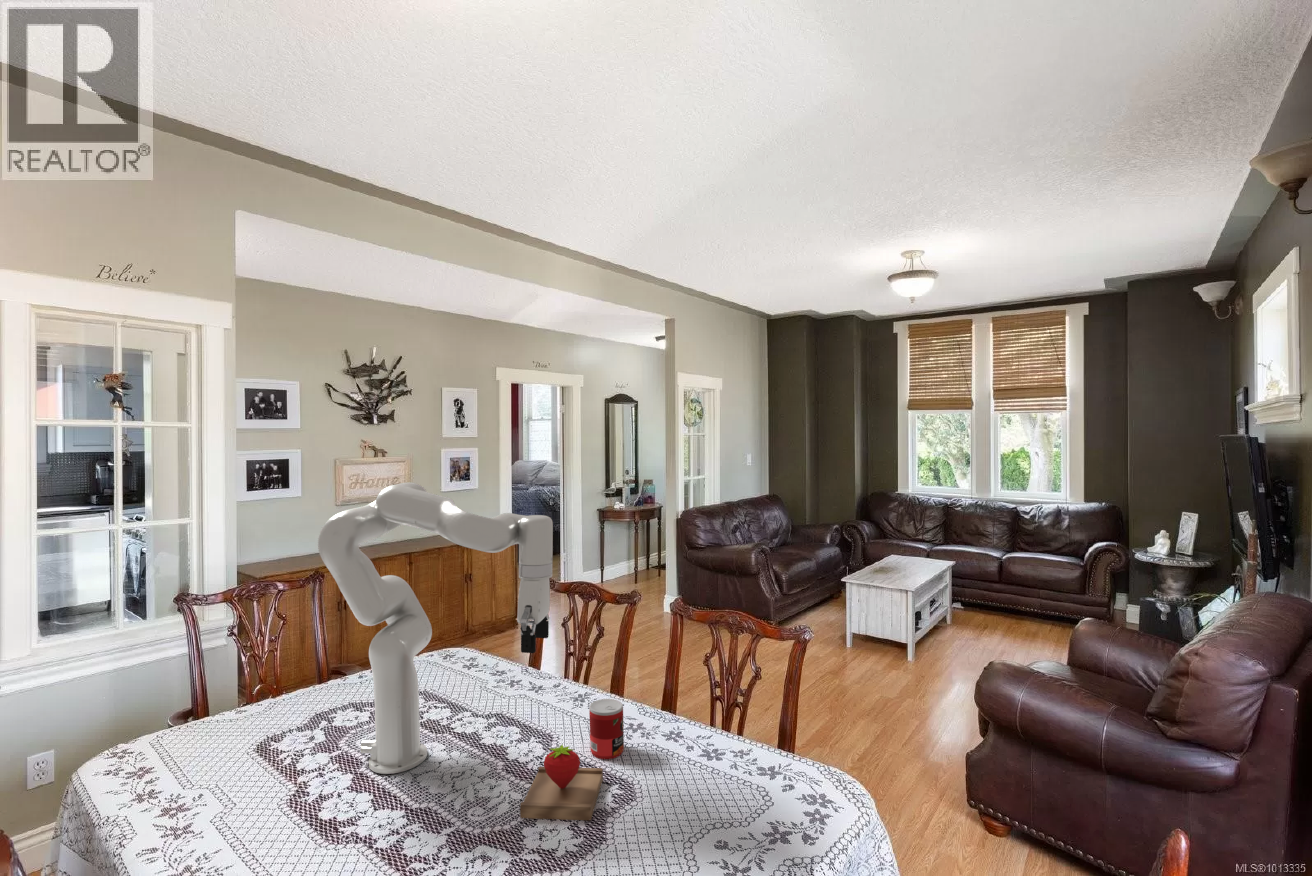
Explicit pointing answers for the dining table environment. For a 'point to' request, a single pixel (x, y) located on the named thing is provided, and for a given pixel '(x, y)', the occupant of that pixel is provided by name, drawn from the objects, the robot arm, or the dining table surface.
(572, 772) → the strawberry
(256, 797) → the dining table surface
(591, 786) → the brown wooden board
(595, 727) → the canned food
